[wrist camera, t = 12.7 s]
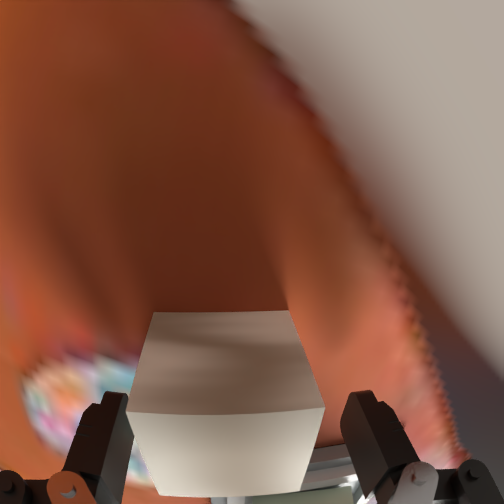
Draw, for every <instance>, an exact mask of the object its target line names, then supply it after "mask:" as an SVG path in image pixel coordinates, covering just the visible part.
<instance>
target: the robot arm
mask: <svg viewBox="0 0 504 504" xmlns="http://www.w3.org/2000/svg"><path fill="white" fill-rule="evenodd" d="M128 400H129V399H128V396H127V394H126V393H118V392H110V391H106V392H105V393H104V395H103V398H102V401H101V404H95V403H92V404H91V405H90V406H89V407H88V408H87V409H86V410H85V411H84V412H83V415H82V417H81V420H80V423H79V426H78V428H77V431H76V435H75V436H74V439H73V442H72V444H71V447H70V450H69V453H68V456H67V459H66V462H65V465H64V467H63V469H62V470H61V472H58V473H55V474H54V475H53V476H51V477H50V479H46V480H23V478H22V477H21V476H20V475H19V474H18V473H16V472H14V471H11V470H4V471H1V472H0V504H121V502H122V496H123V491H124V485H125V480H126V474H127V469H128V464H129V459H130V454H131V450H132V445H133V440H134V434H133V431H132V428H131V426H130V423H129V420H128V417H127V414H126V408H127V404H128ZM340 428H341V433H342V436H343V438H344V441H345V444H346V447H347V449H348V452H349V455H350V458H351V461H352V463H353V466H354V469H355V472H356V475H357V478H358V480H359V483H360V486H361V489H362V492H363V495H364V497H365V499H369V498H373V497H375V498H376V500H377V504H504V500H503V498H502V496H501V494H500V492H499V490H498V488H497V486H496V484H495V482H494V480H493V478H492V476H491V474H490V472H489V470H488V469H487V467H486V466H485V465H484V464H483V463H482V462H480V461H478V460H474V459H471V460H467V461H465V462H463V463H462V464H461V465H460V466H459V468H458V469H441V470H440V469H435V468H434V467H433V466H432V465H430V464H429V463H426V462H422V461H420V459H419V458H418V456H417V454H416V452H415V450H414V448H413V446H412V444H411V442H410V440H409V438H408V436H407V435H406V433H405V431H404V430H403V427H402V425H401V423H400V422H399V421H398V418H397V416H396V414H395V412H394V410H393V409H392V408H391V407H390V406H389V405H387V404H386V403H385V402H384V401H381V402H378V401H377V399H376V397H375V395H374V394H373V392H372V391H371V390H365V391H358V392H351V393H350V394H349V397H348V400H347V403H346V405H345V408H344V411H343V414H342V416H341V421H340Z"/></svg>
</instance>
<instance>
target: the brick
mask: <svg viewBox="0 0 504 504" xmlns="http://www.w3.org/2000/svg"><path fill="white" fill-rule="evenodd" d="M252 504H354V502H353V496H352V490H351V486H345V487H339V488H332V489H325V490H317V491H308V492H297V493H284V494H270V495H258V496H253V499H252Z"/></svg>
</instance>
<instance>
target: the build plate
mask: <svg viewBox="0 0 504 504" xmlns="http://www.w3.org/2000/svg"><path fill="white" fill-rule="evenodd" d="M345 486H351V490H352V496H353V502H354V504H367V502H368V501H369V500H370V498H369V499H365V497H364V495H363V492H362V489H361V486H360V483H359V480H358V478H357V475H356V472H355V469H354V466H353V463H352V461H351V458H350V455H349V452H348V449H347V447H346V444H342V445H336V446H330V447H324V448H317V449H313V451H312V455H311V458H310V461H309V464H308V467H307V470H306V473H305V476H304V479H303V482H302V485H301V488H300V490H299V491H296V492H288V493H297V492H308V491H317V490H325V489H332V488H339V487H345ZM280 494H284V493H280ZM252 499H253V496H242V497H211V503H212V504H252Z"/></svg>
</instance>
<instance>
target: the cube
mask: <svg viewBox="0 0 504 504" xmlns="http://www.w3.org/2000/svg"><path fill="white" fill-rule="evenodd" d="M324 410H325V405H324V402H323V399H322V397H321V394H320V391H319V389H318V386H317V383H316V381H315V378H314V375H313V373H312V370H311V367H310V365H309V362H308V359H307V357H306V354H305V351H304V349H303V346H302V344H301V341H300V338H299V336H298V333H297V330H296V328H295V325H294V323H293V320H292V317H291V315H290V312H289V310H285V311H254V312H154V313H153V316H152V319H151V323H150V326H149V329H148V332H147V336H146V339H145V342H144V346H143V349H142V353H141V356H140V359H139V363H138V367H137V370H136V374H135V377H134V381H133V385H132V388H131V392H130V396H129V400H128V404H127V408H126V414H127V417H128V420H129V423H130V426H131V428H132V431H133V434H134V436H135V439H136V442H137V444H138V447H139V449H140V452H141V454H142V457H143V459H144V462H145V464H146V466H147V469H148V471H149V473H150V476H151V478H152V480H153V482H154V484H155V487H156V489H157V491H158V493H159V495H164V496H180V497H242V496H258V495H270V494H280V493H288V492H296V491H299V490H300V488H301V485H302V482H303V479H304V476H305V473H306V470H307V467H308V464H309V461H310V458H311V455H312V451H313V448H314V445H315V442H316V438H317V435H318V432H319V428H320V425H321V421H322V418H323V414H324Z"/></svg>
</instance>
